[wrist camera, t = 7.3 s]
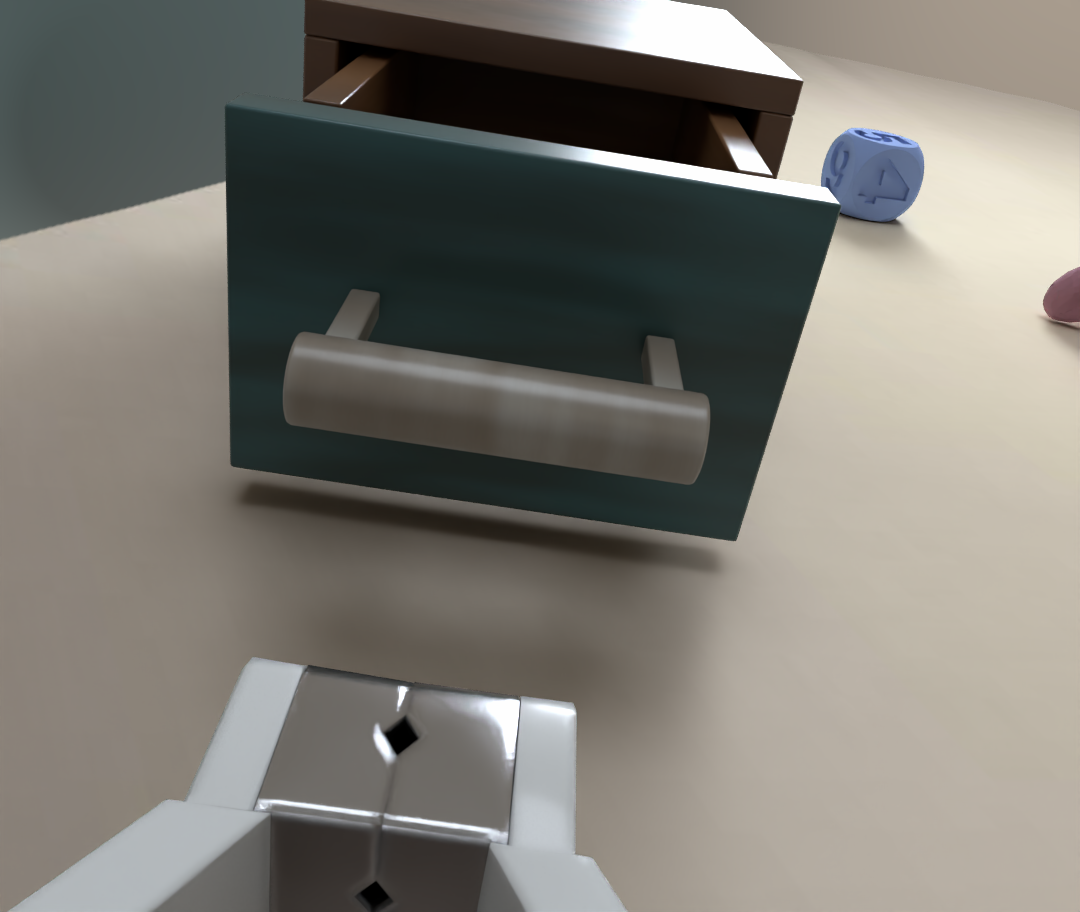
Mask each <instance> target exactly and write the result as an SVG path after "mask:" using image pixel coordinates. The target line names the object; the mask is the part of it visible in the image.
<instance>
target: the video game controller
mask: <svg viewBox="0 0 1080 912" xmlns="http://www.w3.org/2000/svg"><path fill="white" fill-rule="evenodd" d="M1043 306H1044V310H1045V312H1046V313H1047V314H1048V316H1049V317H1051V318H1052V319H1055V320H1058V321H1064V322H1080V267H1078V268H1076V269H1073V270H1071V271H1069V272H1067V273H1066V274H1064V275H1063V276H1061V277H1060V278H1059V279H1057V280H1056V281H1055V282H1054V283H1053V284H1052V285H1051V286H1050V287H1049V289H1048V291H1047V292H1046V294H1045V296H1044V299H1043Z"/></svg>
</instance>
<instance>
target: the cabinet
mask: <svg viewBox="0 0 1080 912" xmlns="http://www.w3.org/2000/svg"><path fill="white" fill-rule="evenodd" d="M304 32H305V34H307V35H305V38H304V74H303V76H304V77H303V100H304V98H305V97H306V96H307V95H309V94H310V93H311V92H313V91H314V90H315V89H317V88H318V87H319V86H321V85H322V84H323V83H325V82H326V81H327V80H328V79H330V78H331V77H332V76H334V75H335V74H336V73H338V72H339V71H340V70H342V69H343V68H344V67H346V66H347V65H348V64H349V63H351V62H352V61H353V60H355V59H356V58H357V57H359V56H360V55H361V54H363V53H364V52H365V51H367V50H368V49H369V48H370V47H372V46H378V47H384V48H390V49H396V50H402V51H408V52H414V53H420V54H426V55H432V56H438V57H444V58H450V59H456V60H462V61H468V62H474V63H480V64H486V65H492V66H498V67H504V68H510V69H516V70H522V71H528V72H534V73H539V74H545V75H551V76H557V77H563V78H569V79H575V80H581V81H587V82H593V83H599V84H605V85H611V86H617V87H623V88H629V89H635V90H641V91H647V92H653V93H659V94H665V95H671V96H677V97H683V98H689V99H695V100H701V101H707V102H713V103H718V104H724V105H728V106H729V107H730V109H731V111H732V112H733V114H734V115H735V117H736V118H737V120H738V122H739V123H740V125H741V126H742V128H743V129H744V131H745V132H746V134H747V136H748V137H749V139H750V140H751V142H752V143H753V145H754V147H755V148H756V150H757V151H758V153H759V154H760V156H761V158H762V159H763V161H764V162H765V164H766V165H767V167H768V168H769V170H770V172H771V173H772V175H773V179H775V180H776V179H777V175H778V172H779V168H780V164H781V161H782V157H783V154H784V150H785V146H786V143H787V139H788V135H789V132H790V128H791V125H792V121H793V117H792V116H793V115H794V114H795V111H796V107H797V104H798V100H799V96H800V93H801V89H802V85H803V80H802V79H801V78H800V77H799V76H797V75H796V74H795V73H794V72H793V71H792V70H791V69H790V68H789V67H788V66H786V65H785V64H784V63H783V62H782V61H781V60H780V59H779V58H778V57H777V56H775V55H774V54H773V53H772V52H771V51H770V50H769V49H768V48H767V47H766V46H764V45H763V44H762V43H761V42H760V41H759V40H758V39H757V38H756V37H755V36H753V35H752V34H751V33H750V32H749V31H748V30H747V29H746V28H745V27H744V26H742V25H741V24H740V23H739V22H738V21H737V20H736V19H735V18H734V17H733V16H731V15H730V14H729V13H728V12H727V11H725V10H720V9H714V8H708V7H703V6H697V5H691V4H685V3H680V2H673V1H668V0H305V17H304Z"/></svg>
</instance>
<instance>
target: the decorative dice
mask: <svg viewBox="0 0 1080 912" xmlns="http://www.w3.org/2000/svg"><path fill="white" fill-rule="evenodd" d="M923 174H924V158H923V153H922V151H921V149H920V147H919V145H918V144H917V143H916V142H914V141H912V140H910V139H908V138H905V137H902V136H899V135H895V134H891V133H887V132H883V131H878V130H872V129H864V128H851V129H848V130H847V131H845V132H844V133H842V134H841V135H840V136H839V137H838V138H836V139H835V141H834V142H833V143H832V145H831V147H830V149H829V151H828V153H827V155H826V158H825V161H824V165H823V169H822V176H821V187H823V188H827V189H829V190H830V192H831V193H832V194H833V195H834V197H835V198H836V199H837V200H838V202H839V203H840V204H841V210H840V213H842V214H845V215H848V216H852V217H855V218H859V219H864V220H870V221H880V222H886V221H891V220H893V219H895V218H897V217H898V216H900V215H901V214H903V213H904V212H905V211H906V210H907V209H908V208H909V207H910V206H911V205H912V204H913V202H914V200H915V199H916V197H917V195H918V193H919V190H920V187H921V184H922V180H923Z"/></svg>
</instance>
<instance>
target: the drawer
mask: <svg viewBox="0 0 1080 912" xmlns="http://www.w3.org/2000/svg"><path fill="white" fill-rule="evenodd" d="M225 147H226V149H225V150H226V212H227V274H228V337H229V399H230V461H231V466H233V467H238V468H245V469H251V470H258V471H265V472H272V473H278V474H285V475H292V476H299V477H305V478H312V479H319V480H325V481H332V482H339V483H346V484H352V485H359V486H366V487H373V488H379V489H386V490H393V491H399V492H406V493H413V494H420V495H426V496H433V497H440V498H447V499H453V500H460V501H467V502H473V503H480V504H487V505H494V506H500V507H507V508H514V509H521V510H527V511H534V512H541V513H547V514H554V515H561V516H568V517H574V518H581V519H588V520H595V521H601V522H608V523H615V524H621V525H628V526H635V527H642V528H648V529H655V530H662V531H669V532H675V533H682V534H689V535H695V536H702V537H709V538H716V539H722V540H729V541H736V540H737V537H738V534H739V531H740V528H741V525H742V521H743V518H744V515H745V512H746V509H747V506H748V502H749V499H750V496H751V493H752V490H753V486H754V483H755V480H756V477H757V474H758V471H759V467H760V464H761V461H762V458H763V455H764V452H765V448H766V445H767V442H768V439H769V436H770V432H771V429H772V426H773V423H774V420H775V417H776V413H777V410H778V407H779V404H780V401H781V398H782V394H783V391H784V388H785V385H786V382H787V378H788V375H789V372H790V369H791V366H792V363H793V359H794V356H795V353H796V350H797V347H798V343H799V340H800V337H801V334H802V331H803V328H804V324H805V321H806V318H807V315H808V312H809V309H810V305H811V302H812V299H813V296H814V293H815V289H816V286H817V283H818V280H819V277H820V274H821V270H822V267H823V264H824V261H825V258H826V255H827V251H828V248H829V245H830V242H831V239H832V235H833V232H834V229H835V226H836V223H837V220H838V216H839V213H840V210H841V204H840V203H839V202H838V200H837V199H836V198H835V197H834V195H833V194H832V193H831V192H830V190H829V189H827V188H823V187H817V186H811V185H805V184H799V183H793V182H787V181H781V180H775V179H773V175H772V173H771V172H770V170H769V168H768V167H767V165H766V164H765V162H764V161H763V159H762V158H761V156H760V154H759V153H758V151H757V150H756V148H755V147H754V145H753V143H752V142H751V140H750V139H749V137H748V136H747V134H746V132H745V131H744V129H743V128H742V126H741V125H740V123H739V122H738V120H737V118H736V117H735V115H734V114H733V112H732V111H731V109H730V107H729V106H728V105H724V104H718V103H713V102H707V101H701V100H695V99H689V98H683V97H677V96H671V95H665V94H659V93H653V92H647V91H641V90H635V89H629V88H623V87H617V86H611V85H605V84H599V83H593V82H587V81H581V80H575V79H569V78H563V77H557V76H551V75H545V74H539V73H534V72H528V71H522V70H516V69H510V68H504V67H498V66H492V65H486V64H480V63H474V62H468V61H462V60H456V59H450V58H444V57H438V56H432V55H426V54H420V53H414V52H408V51H402V50H396V49H390V48H384V47H378V46H372V47H370V48H369V49H368V50H367V51H365V52H364V53H363V54H361V55H360V56H359V57H357V58H356V59H355V60H353V61H352V62H351V63H349V64H348V65H347V66H346V67H344V68H343V69H342V70H340V71H339V72H338V73H336V74H335V75H334V76H332V77H331V78H330V79H328V80H327V81H326V82H325V83H323V84H322V85H321V86H319V87H318V88H317V89H315V90H314V91H313V92H311V93H310V94H309V95H307V96H306V97H305V98H304V100H303V102H300V101H295V100H289V99H283V98H277V97H271V96H264V95H258V94H252V93H243V94H241V95H240V96H238V97H236V98H235V99H233V100H232V101H230V102H228V103H227V104H226V105H225Z"/></svg>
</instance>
